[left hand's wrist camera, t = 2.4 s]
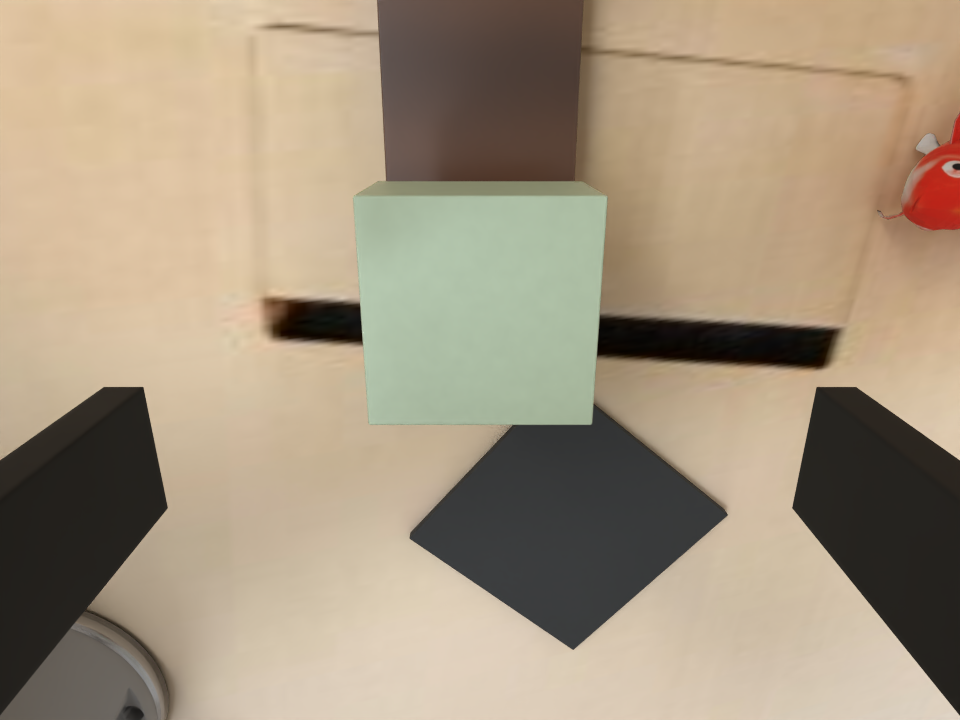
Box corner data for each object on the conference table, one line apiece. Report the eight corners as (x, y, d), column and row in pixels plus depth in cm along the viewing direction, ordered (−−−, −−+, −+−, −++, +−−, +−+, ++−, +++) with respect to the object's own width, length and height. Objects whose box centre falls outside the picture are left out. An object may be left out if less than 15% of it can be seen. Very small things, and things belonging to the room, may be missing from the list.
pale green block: (573, 373, 27) (592, 425, 23) (387, 373, 27) (368, 425, 23) (583, 181, 25) (608, 195, 20) (376, 181, 25) (352, 195, 20)
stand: (559, 350, 36) (585, 425, 27) (400, 350, 36) (375, 425, 27) (589, -291, 26) (646, -501, 17) (371, -291, 26) (314, -502, 17)
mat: (572, 643, 44) (573, 650, 43) (410, 532, 40) (409, 538, 40) (724, 509, 40) (728, 515, 39) (559, 376, 37) (560, 380, 36)
